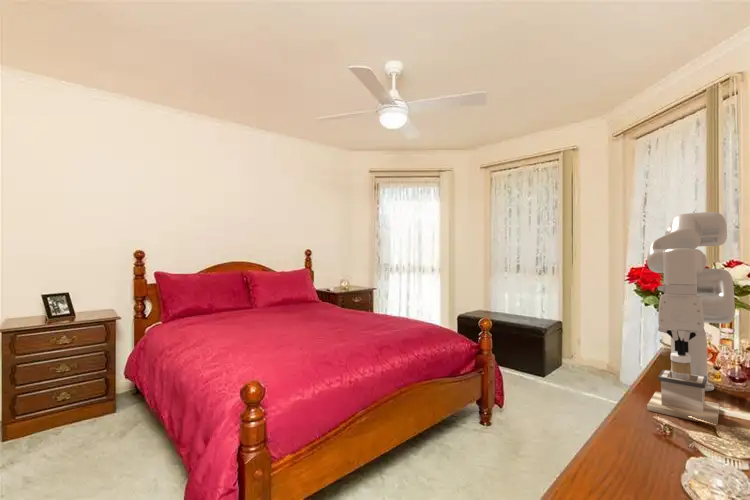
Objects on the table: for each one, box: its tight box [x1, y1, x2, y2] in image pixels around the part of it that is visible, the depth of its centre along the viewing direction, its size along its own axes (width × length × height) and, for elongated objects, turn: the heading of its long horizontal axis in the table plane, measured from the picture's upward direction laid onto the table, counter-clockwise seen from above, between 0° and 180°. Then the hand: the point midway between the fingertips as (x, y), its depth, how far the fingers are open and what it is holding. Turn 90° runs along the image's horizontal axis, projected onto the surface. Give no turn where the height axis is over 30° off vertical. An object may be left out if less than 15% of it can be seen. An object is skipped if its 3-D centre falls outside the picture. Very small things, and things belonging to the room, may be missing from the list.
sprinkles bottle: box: [670, 352, 692, 381], centre depth 110 cm, size 5×5×14 cm
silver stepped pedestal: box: [646, 369, 720, 426], centre depth 110 cm, size 15×15×10 cm
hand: (681, 354), depth 109 cm, fingers closed
